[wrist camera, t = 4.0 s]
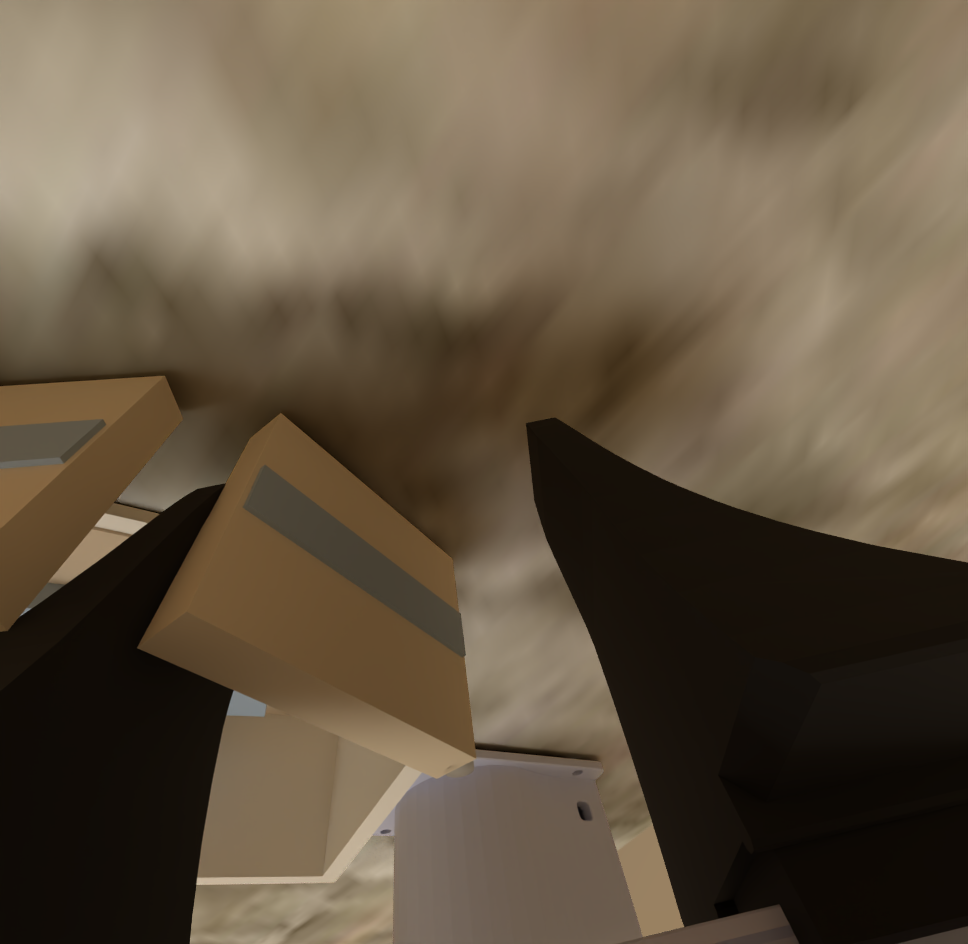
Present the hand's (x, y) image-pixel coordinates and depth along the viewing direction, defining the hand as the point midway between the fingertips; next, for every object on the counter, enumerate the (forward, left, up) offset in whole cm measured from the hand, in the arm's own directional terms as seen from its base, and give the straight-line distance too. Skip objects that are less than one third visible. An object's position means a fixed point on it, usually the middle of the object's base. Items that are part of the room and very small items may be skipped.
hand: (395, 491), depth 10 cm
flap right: (0, +2, -2) cm, 3 cm away
